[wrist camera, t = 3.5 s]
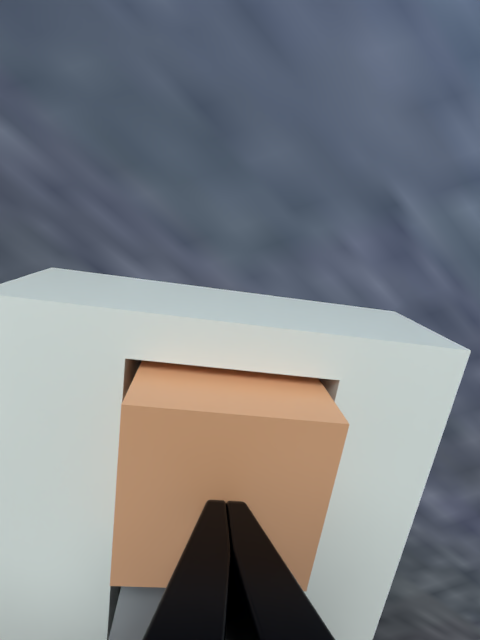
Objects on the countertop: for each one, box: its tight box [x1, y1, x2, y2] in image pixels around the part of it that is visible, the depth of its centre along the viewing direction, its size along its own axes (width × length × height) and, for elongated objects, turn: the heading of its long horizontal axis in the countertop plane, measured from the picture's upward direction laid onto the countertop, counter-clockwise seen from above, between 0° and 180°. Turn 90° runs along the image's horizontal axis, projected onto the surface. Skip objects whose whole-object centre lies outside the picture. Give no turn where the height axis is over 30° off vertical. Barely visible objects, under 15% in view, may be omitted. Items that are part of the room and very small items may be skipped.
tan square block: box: [110, 360, 349, 591], centre depth 9 cm, size 5×5×3 cm
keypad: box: [0, 268, 471, 640], centre depth 13 cm, size 22×12×4 cm, turn 172°
